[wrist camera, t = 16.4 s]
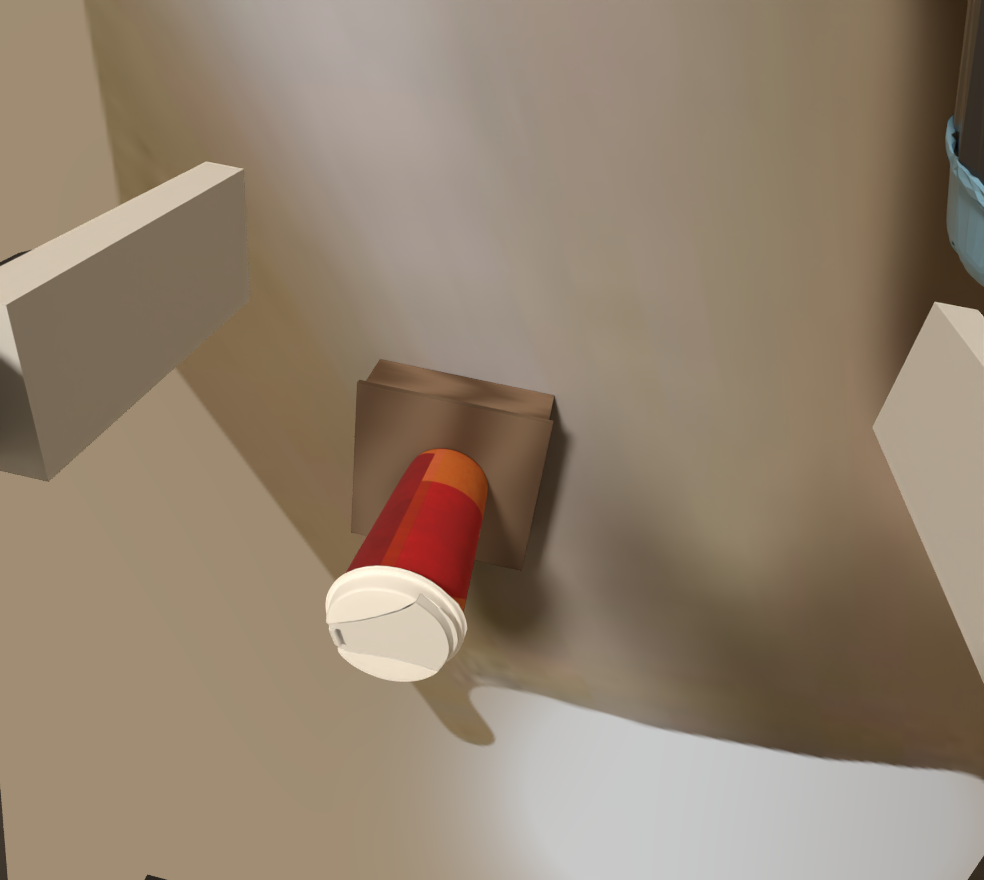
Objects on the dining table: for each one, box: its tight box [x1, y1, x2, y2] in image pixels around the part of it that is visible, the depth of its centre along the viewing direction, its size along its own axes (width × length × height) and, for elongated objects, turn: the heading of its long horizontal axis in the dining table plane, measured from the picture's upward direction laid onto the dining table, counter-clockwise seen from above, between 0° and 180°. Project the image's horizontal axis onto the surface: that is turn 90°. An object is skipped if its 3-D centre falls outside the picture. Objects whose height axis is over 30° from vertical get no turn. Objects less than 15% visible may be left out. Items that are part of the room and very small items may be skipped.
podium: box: [351, 359, 554, 571], centre depth 54 cm, size 13×13×4 cm
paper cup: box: [326, 448, 488, 682], centre depth 46 cm, size 8×8×14 cm
